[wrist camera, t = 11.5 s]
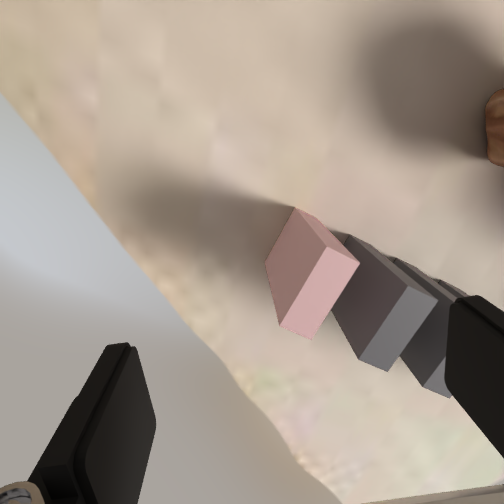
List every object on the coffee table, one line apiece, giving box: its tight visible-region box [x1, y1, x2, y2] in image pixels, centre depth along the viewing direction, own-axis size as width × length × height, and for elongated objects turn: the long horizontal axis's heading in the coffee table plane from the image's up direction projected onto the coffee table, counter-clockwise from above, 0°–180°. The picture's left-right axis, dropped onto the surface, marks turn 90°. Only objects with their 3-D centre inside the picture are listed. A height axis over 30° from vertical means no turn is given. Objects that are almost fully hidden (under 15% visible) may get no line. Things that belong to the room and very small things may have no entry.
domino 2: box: [393, 258, 457, 398], centre depth 25 cm, size 2×5×10 cm, turn 154°
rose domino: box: [265, 207, 360, 340], centre depth 24 cm, size 2×5×10 cm, turn 153°
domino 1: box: [331, 235, 438, 372], centre depth 24 cm, size 2×5×10 cm, turn 154°
